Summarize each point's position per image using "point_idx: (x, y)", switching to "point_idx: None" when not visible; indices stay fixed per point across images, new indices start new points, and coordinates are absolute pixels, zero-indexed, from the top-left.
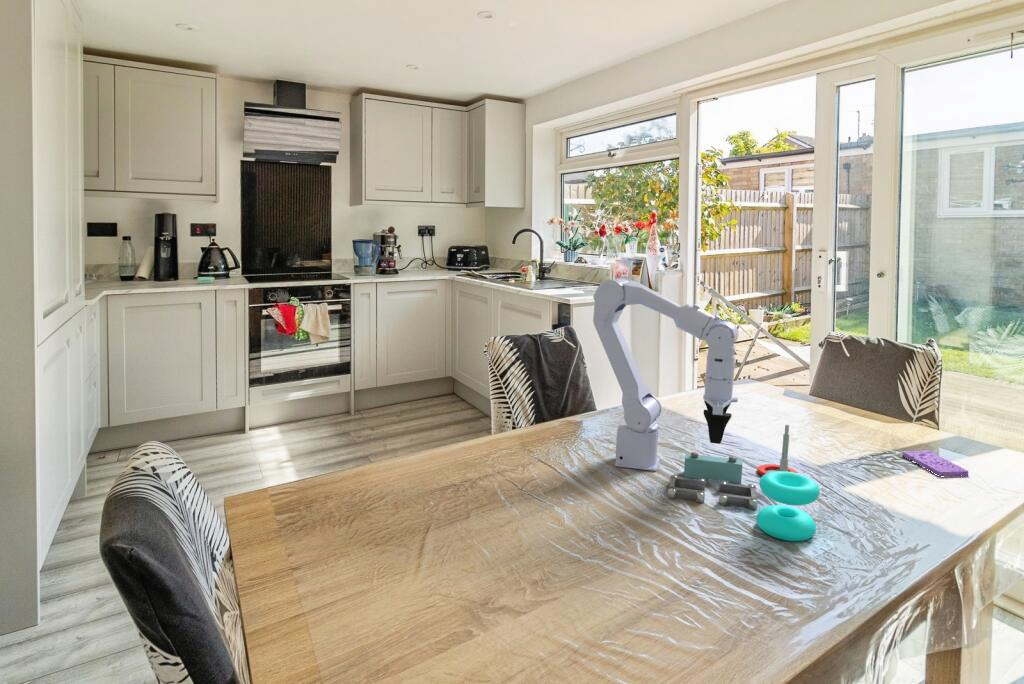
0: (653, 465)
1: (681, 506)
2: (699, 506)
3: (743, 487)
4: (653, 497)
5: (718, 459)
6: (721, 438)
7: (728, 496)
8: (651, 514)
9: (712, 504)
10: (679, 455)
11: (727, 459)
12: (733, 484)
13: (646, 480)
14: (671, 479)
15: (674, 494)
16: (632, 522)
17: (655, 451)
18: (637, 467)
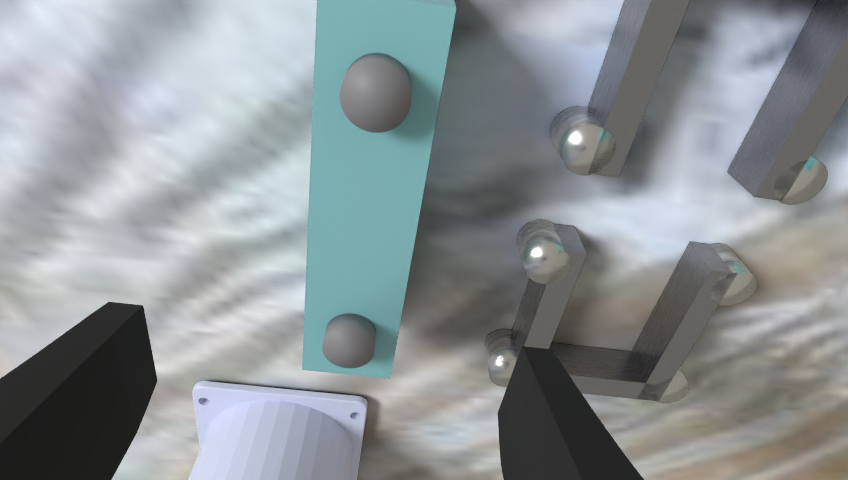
0: (320, 412)
1: (748, 332)
2: (764, 267)
3: (678, 21)
4: (644, 411)
5: (363, 193)
6: (581, 397)
7: (809, 154)
8: (794, 421)
9: (754, 209)
10: (81, 292)
11: (348, 125)
12: (628, 89)
13: (471, 424)
14: None
15: (680, 369)
16: (839, 464)
17: (297, 472)
18: (359, 456)
